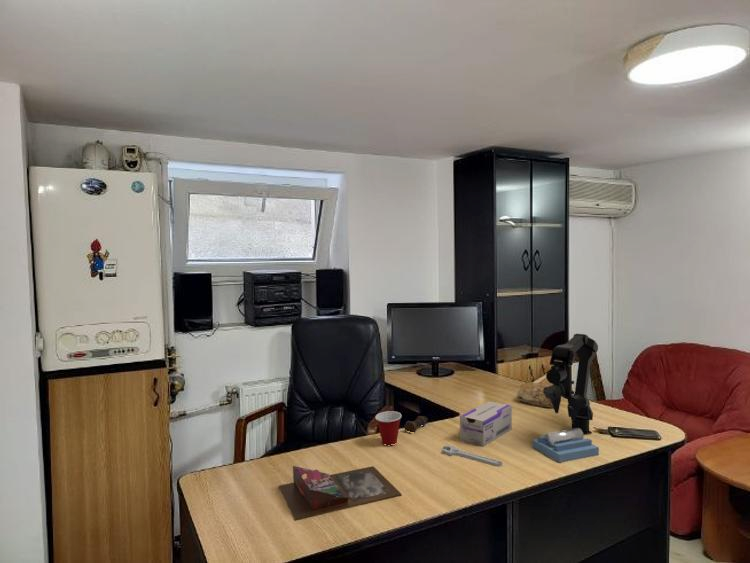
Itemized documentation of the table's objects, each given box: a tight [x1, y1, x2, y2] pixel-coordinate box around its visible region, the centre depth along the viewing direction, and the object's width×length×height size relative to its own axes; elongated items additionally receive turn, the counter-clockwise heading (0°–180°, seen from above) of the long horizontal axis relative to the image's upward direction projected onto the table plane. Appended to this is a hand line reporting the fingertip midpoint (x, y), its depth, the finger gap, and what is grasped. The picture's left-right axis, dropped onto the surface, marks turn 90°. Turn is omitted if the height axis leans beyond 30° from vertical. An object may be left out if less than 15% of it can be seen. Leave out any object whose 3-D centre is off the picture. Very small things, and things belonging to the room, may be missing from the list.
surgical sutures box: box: [459, 400, 513, 448], centre depth 212 cm, size 25×11×11 cm, turn 139°
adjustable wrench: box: [441, 445, 503, 467], centre depth 188 cm, size 25×6×2 cm, turn 46°
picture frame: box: [278, 465, 403, 521], centre depth 165 cm, size 24×35×8 cm
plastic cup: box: [374, 410, 402, 445], centre depth 204 cm, size 11×11×12 cm
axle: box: [545, 428, 585, 447], centre depth 193 cm, size 14×5×5 cm, turn 109°
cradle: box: [531, 434, 600, 464], centre depth 193 cm, size 18×16×5 cm
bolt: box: [404, 415, 429, 433], centre depth 222 cm, size 6×5×15 cm
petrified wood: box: [516, 381, 562, 409], centre depth 252 cm, size 19×13×10 cm
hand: (564, 416), depth 199 cm, fingers open, 9 cm apart
